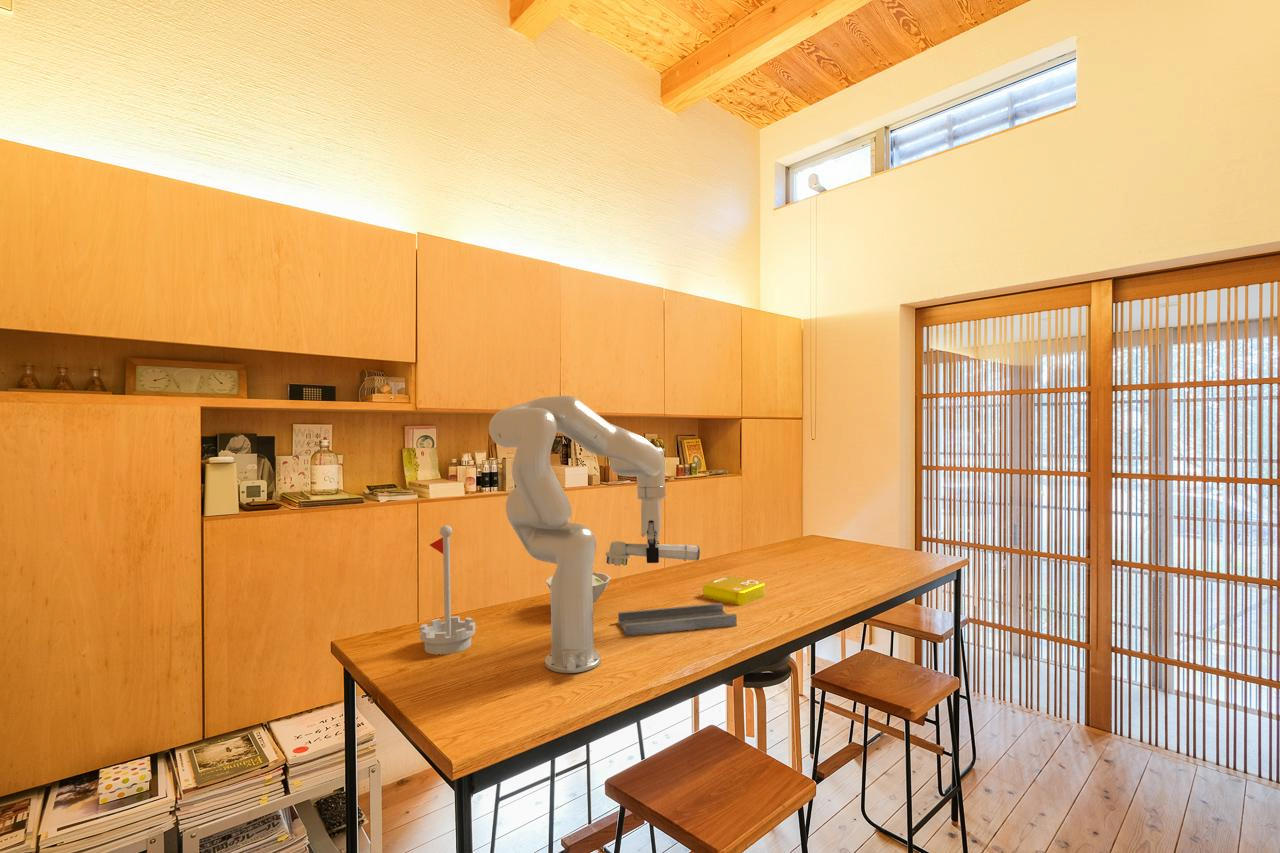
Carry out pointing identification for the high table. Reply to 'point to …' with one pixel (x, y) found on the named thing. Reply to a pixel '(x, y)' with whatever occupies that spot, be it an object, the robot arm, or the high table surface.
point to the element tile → (734, 590)
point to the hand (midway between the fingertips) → (653, 559)
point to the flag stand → (446, 613)
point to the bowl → (593, 584)
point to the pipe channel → (675, 619)
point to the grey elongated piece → (622, 552)
